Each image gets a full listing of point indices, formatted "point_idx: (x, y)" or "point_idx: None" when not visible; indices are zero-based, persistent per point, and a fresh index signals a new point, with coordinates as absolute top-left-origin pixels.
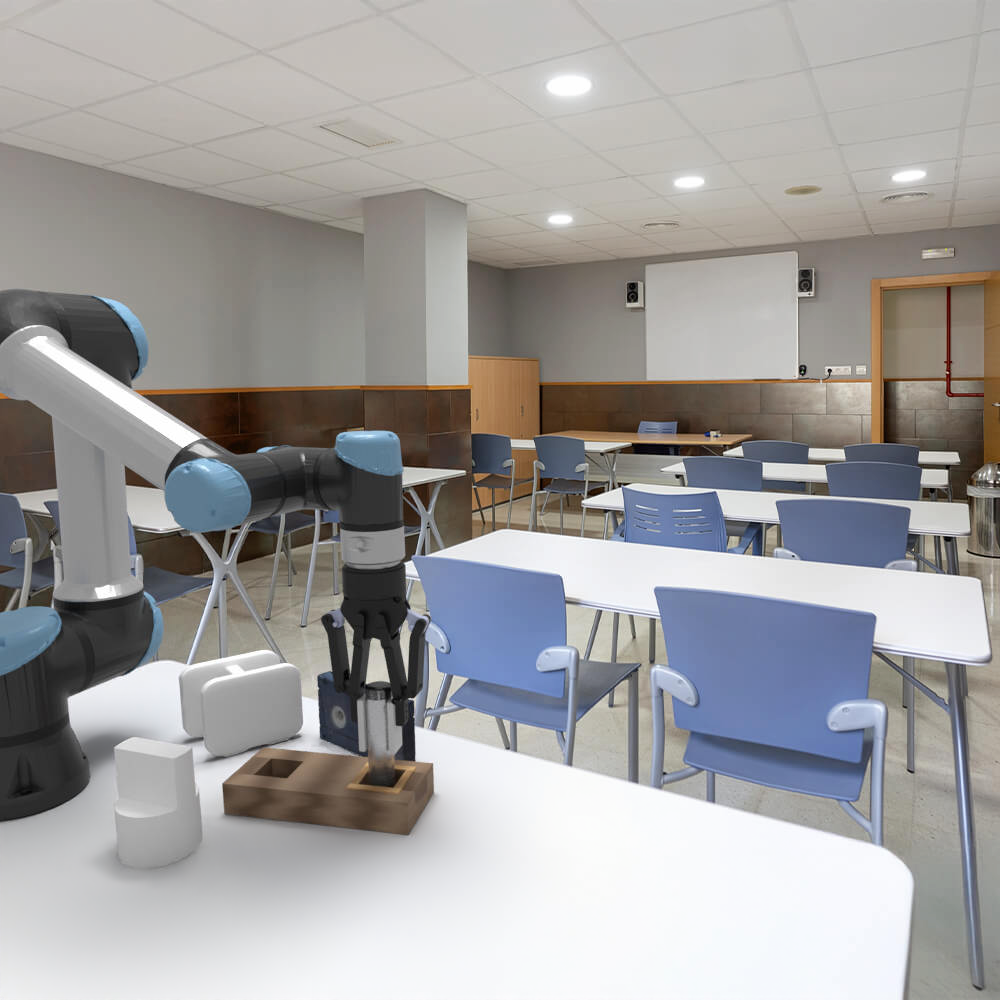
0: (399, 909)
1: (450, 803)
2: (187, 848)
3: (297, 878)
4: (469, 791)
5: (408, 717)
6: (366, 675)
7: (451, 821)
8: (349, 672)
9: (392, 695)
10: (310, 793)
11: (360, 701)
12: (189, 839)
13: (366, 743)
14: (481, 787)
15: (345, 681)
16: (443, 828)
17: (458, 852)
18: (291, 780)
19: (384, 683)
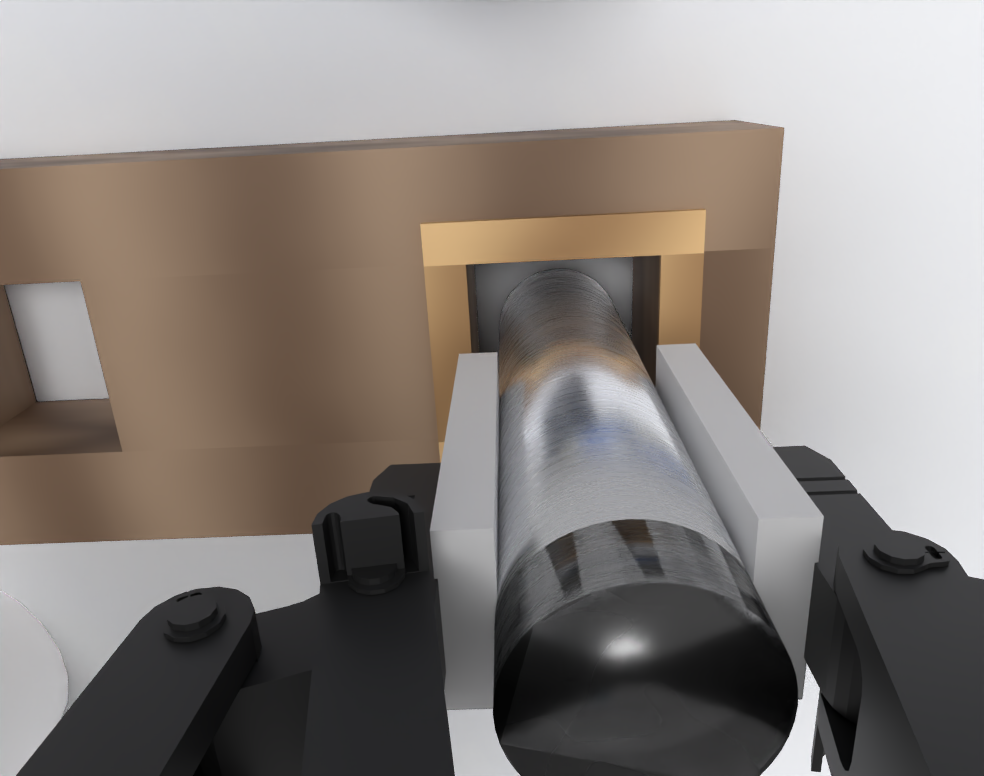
0: (791, 757)
1: (831, 196)
2: (55, 707)
3: (455, 711)
4: (905, 64)
5: (831, 461)
6: (442, 679)
7: (860, 330)
8: (204, 732)
9: (825, 747)
10: (305, 533)
11: (480, 704)
12: (41, 718)
13: None
14: (962, 7)
15: (240, 756)
16: (837, 382)
17: (918, 504)
18: (155, 462)
19: (685, 631)
